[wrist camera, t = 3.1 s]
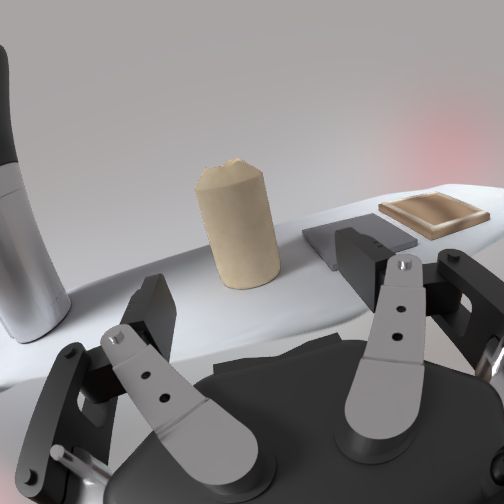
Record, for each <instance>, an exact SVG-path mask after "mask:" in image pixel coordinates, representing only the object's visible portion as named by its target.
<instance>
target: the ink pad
mask: <svg viewBox="0 0 504 504" xmlns="http://www.w3.org/2000/svg"><path fill="white" fill-rule="evenodd" d="M347 227H352V228H354V229H355V230H356V231H358V232H359V233H360V234H365V235H368V236H371V237H373V238H375V239H376V240H377V241H378V242H380V243H381V244H383V246H386V247H387V248H388V249H390V250H391V251H392V252H394V253H395V252H398V251H402V250H405V249H408V248H411V247H414V246H417V239H416V238H414V237H412V236H411V235H409V234H408V233H406V232H404V231H403V230H401V229H399V228H398V227H396V226H394V225H393V224H391V223H389V222H387V221H386V220H384V219H382V218H380V217H379V216H377V215H375V214H373V213H372V214H368V215H364V216H359V217H355V218H351V219H347V220H343V221H338V222H334V223H330V224H326V225H322V226H318V227H313V228H309V229H305V230H302V233H303V236H304V237H305V238H306V240H307V241H308V242H309V243H310V244H311V246H312V247H313V248H314V249H315V250H316V251H317V253H318V254H319V255H320V256H321V257H322V259H323V260H324V261H325V262H326V264H327V265H328V266H329V267H330V268H331V270H332V271H335V270H339V269H338V266H337V259H336V247H335V236H334V234H335V231H336V230H339V229H343V228H347Z"/></svg>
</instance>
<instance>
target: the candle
mask: <svg viewBox="0 0 504 504" xmlns="http://www.w3.org/2000/svg"><path fill="white" fill-rule="evenodd" d="M195 193H196V197H197V200H198V204H199V208H200V211H201V215H202V218H203V222H204V225H205V228H206V232H207V236H208V239H209V243H210V246H211V249H212V253H213V256H214V259H215V263H216V266H217V269H218V272H219V275H220V278H221V280H222V282H223V284H224V285H226V286H227V287H230V288H233V289H249V288H254V287H258V286H261V285H263V284H266V283H268V282H269V281H271V280H272V279H274V278H275V277H276V276H277V275H278V273H279V272H280V259H279V253H278V248H277V242H276V237H275V232H274V227H273V222H272V217H271V212H270V207H269V202H268V197H267V192H266V187H265V183H264V178H263V173H262V172H261V171H260V170H258V169H257V168H255V167H254V166H252V165H250V164H248V163H246V162H245V161H243V160H242V159H240V158H236V159H233V160H231V161H228V162H226V163H225V164H224V165H223V166H219V167H214V168H209V169H208V168H205V169H204V172H203V174H202V176H201V177H200V180H199V181H198V183H197V185H196V187H195Z"/></svg>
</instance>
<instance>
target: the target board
mask: <svg viewBox="0 0 504 504" xmlns="http://www.w3.org/2000/svg"><path fill="white" fill-rule="evenodd" d="M378 206H379V211H381V212H382V213H384V214H386V215H388V216H390V217H392V218H393V219H395V220H397V221H399V222H401V223H402V224H404V225H406V226H408V227H409V228H411V229H413V230H415V231H416V232H418V233H420V234H421V235H423V236H425V237H426V238H428V239H430V240H433V239H436V238H439V237H442V236H445V235H448V234H451V233H454V232H457V231H460V230H463V229H465V228H468V227H471V226H474V225H477V224H479V223H482V222H485V221H488V220H489V219H490V213H488V212H486V211H484V210H481V209H479V208H477V207H474V206H472V205H470V204H467V203H465V202H462V201H460V200H458V199H455V198H453V197H450V196H447V195H445V194H442V193H439V192H437V191H435V192H430V193H425V194H421V195H416V196H411V197H406V198H402V199H397V200H392V201H388V202H383V203H382V204H379V205H378Z"/></svg>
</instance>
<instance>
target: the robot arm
mask: <svg viewBox="0 0 504 504" xmlns="http://www.w3.org/2000/svg"><path fill="white" fill-rule="evenodd" d="M334 236H335V247H336V259H337V266H338V269H339V271H340V273H341V275H342V276H343V277H344V278H345V279H346V281H347V282H348V283H349V284H350V285H351V287H352V288H353V289H354V290H355V291H356V293H357V294H358V295H359V296H360V297H361V299H362V300H363V301H364V302H365V304H366V305H367V306H368V307H369V308H370V310H371V311H372V312H373V313H375V316H374V320H373V324H372V327H371V331H370V335H369V339H368V341H363V340H341V338H340V336H339V334H338V333H334V334H331V335H328V336H324V337H322V338H318V339H315V340H311V341H308V342H306V343H304V344H302V345H300V346H298V347H296V348H294V349H292V350H290V351H288V352H286V353H284V354H282V355H279V356H275V357H258V358H243V359H238V360H233V361H228V362H223V363H219V364H214V365H213V371H214V374H212V375H210V376H208V377H206V378H204V379H202V380H200V381H199V382H197V383H196V384H195V385H193V386H192V385H191V384H190V383H189V382H188V381H187V380H186V379H185V378H183V377H182V376H181V375H180V374H179V373H178V372H177V371H176V370H175V369H174V368H173V367H172V366H171V365H170V364H169V359H170V352H171V346H172V339H173V333H174V327H175V321H176V315H177V312H176V306H175V303H174V300H173V298H172V295H171V293H170V291H169V288H168V286H167V283H166V281H165V278H164V276H163V275H162V274H157V275H153V276H149V277H146V278H145V280H144V282H143V284H142V287H141V289H139V290H137V291H136V292H135V294H134V295H133V296H132V297H131V299H130V301H129V303H128V304H129V305H128V306H127V308H126V311H125V313H124V315H123V317H122V320H121V322H120V324H119V325H117V326H114V327H112V328H111V329H109V330H108V331H107V332H106V333H105V334H104V335H103V336H102V338H101V341H100V344H101V346H98V347H96V348H93V349H91V350H88V351H86V349H85V348H84V346H83V345H82V344H81V343H79V342H75V343H71V344H69V345H67V346H66V347H64V348H63V349H62V350H61V351H60V352H59V354H58V355H57V358H56V360H55V362H54V364H53V366H52V368H51V371H50V373H49V375H48V377H47V380H46V382H45V384H44V387H43V389H42V392H41V394H40V397H39V399H38V402H37V405H36V407H35V410H34V412H33V415H32V418H31V421H30V424H29V427H28V430H27V433H26V436H25V439H24V443H23V446H22V450H21V453H20V457H19V461H18V465H17V469H16V474H15V483H16V487H17V489H18V491H19V492H20V493H21V494H22V495H24V496H25V497H27V498H29V499H31V500H32V501H34V502H36V503H37V504H504V282H503V281H502V280H500V279H499V278H498V277H497V276H495V275H494V274H493V273H491V272H490V271H489V270H487V269H486V268H485V267H483V266H482V265H481V264H479V263H478V262H477V261H475V260H474V259H472V258H471V257H470V256H468V255H467V254H465V253H464V252H462V251H460V250H456V249H445V250H442V251H440V252H439V254H438V260H437V263H429V264H422V262H421V260H420V259H419V258H418V257H416V256H413V255H409V254H398V255H396V254H395V253H394V252H392V251H391V250H390V249H388V248H387V247H386V246H383V244H381V243H380V242H378V241H377V240H376V239H375V238H373V237H371V236H368V235H365V234H360V233H359V232H358V231H356V230H355V229H354V228H352V227H347V228H343V229H339V230H336V231H335V234H334ZM462 293H463V294H465V295H466V296H467V297H468V298H469V300H470V301H471V304H472V312H471V313H470V312H469V311H468V310H467V309H466V308H465V307H464V306H463V305H462V304H461V303H460V301H461V297H462ZM70 306H71V300H70V298H69V297H68V295H67V293H66V291H65V289H64V287H63V285H62V283H61V281H60V279H59V277H58V274H57V272H56V270H55V268H54V266H53V263H52V261H51V259H50V256H49V254H48V252H47V249H46V247H45V245H44V242H43V240H42V237H41V235H40V232H39V229H38V226H37V224H36V221H35V218H34V215H33V212H32V209H31V206H30V203H29V200H28V196H27V193H26V190H25V186H24V183H23V179H22V175H21V172H20V167H19V164H18V159H17V155H16V150H15V145H14V140H13V134H12V127H11V120H10V106H9V65H8V57H7V54H6V51H5V49H4V47H2V46H1V45H0V321H1V323H2V324H3V326H4V328H5V329H6V331H7V332H8V334H9V336H10V337H14V338H15V340H16V341H17V342H20V343H26V342H30V341H33V340H35V339H37V338H39V337H41V336H43V335H44V334H46V333H47V332H49V331H50V330H51V329H53V328H54V327H55V326H56V325H57V324H58V323H59V322H60V321H61V320H62V319H63V318H64V317H65V315H66V314H67V312H68V311H69V309H70ZM426 316H431V317H432V318H433V319H434V321H435V322H436V323H437V324H438V325H439V327H440V328H441V329H442V330H443V331H444V332H445V334H446V335H447V336H448V337H449V338H450V340H451V341H452V342H453V343H454V344H455V346H456V347H457V348H458V349H459V351H460V352H461V353H462V354H463V356H464V357H465V358H466V360H467V361H468V362H469V364H470V365H471V366H472V367H473V369H474V370H475V376H473V375H470V374H466V373H463V372H460V371H457V370H453V369H450V368H447V367H444V366H441V365H438V364H434V363H431V362H428V361H425V360H423V358H424V343H425V321H426ZM79 391H81V393H82V394H83V395H84V396H85V401H84V404H83V408H82V412H81V411H80V410H79V407H78V404H77V398H78V395H79ZM125 393H128V395H129V396H130V398H131V399H132V401H133V402H134V404H135V405H136V407H137V408H138V410H139V411H140V412H141V414H142V415H143V417H144V418H145V419H146V421H147V422H148V424H149V425H150V426H151V428H152V429H153V431H152V432H151V433H150V434H149V435H148V437H147V438H146V439H145V440H144V441H143V442H142V443H141V444H140V445H139V446H138V448H137V449H136V450H135V451H134V452H133V453H132V454H131V455H130V456H129V457H128V459H127V460H126V461H125V462H124V463H123V464H122V465H121V466H120V467H119V468H118V469H117V470H116V471H115V472H114V474H113V475H112V472H111V470H110V469H109V467H108V459H109V450H110V444H111V436H112V429H113V423H114V417H115V410H116V405H117V400H118V396H119V395H122V394H125Z"/></svg>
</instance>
